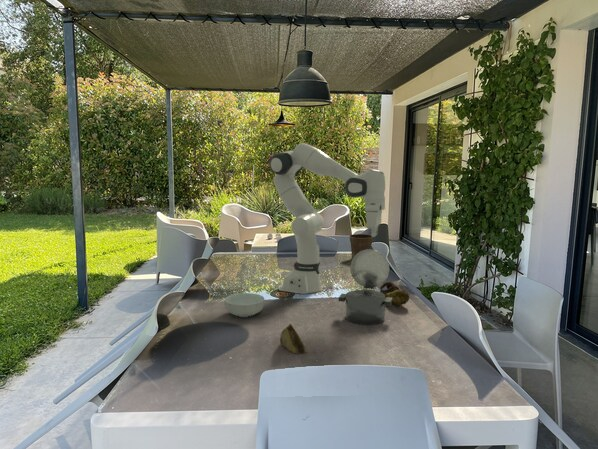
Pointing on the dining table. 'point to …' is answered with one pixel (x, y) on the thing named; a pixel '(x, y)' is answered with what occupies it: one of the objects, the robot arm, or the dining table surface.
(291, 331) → the rock
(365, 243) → the plant pot
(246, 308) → the cereal bowl
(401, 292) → the potato
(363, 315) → the pot
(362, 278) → the lid
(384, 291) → the pottery mug
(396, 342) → the dining table surface
